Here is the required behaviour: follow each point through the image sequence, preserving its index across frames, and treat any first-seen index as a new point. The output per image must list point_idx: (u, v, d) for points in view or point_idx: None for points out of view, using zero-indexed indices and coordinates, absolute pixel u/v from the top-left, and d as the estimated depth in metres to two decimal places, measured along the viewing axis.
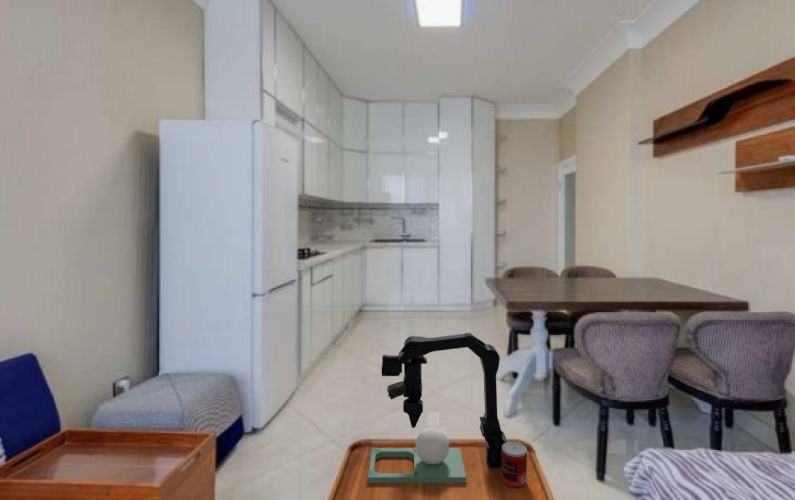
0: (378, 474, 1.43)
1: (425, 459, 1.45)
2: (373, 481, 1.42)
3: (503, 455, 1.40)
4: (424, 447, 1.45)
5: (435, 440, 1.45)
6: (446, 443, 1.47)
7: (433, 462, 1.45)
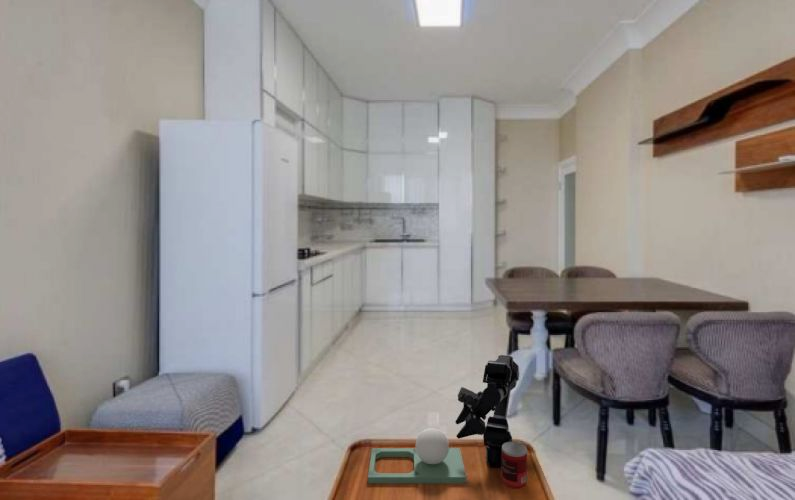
0: (378, 474, 1.43)
1: (425, 459, 1.45)
2: (373, 481, 1.42)
3: (503, 455, 1.40)
4: (424, 447, 1.45)
5: (435, 440, 1.45)
6: (446, 443, 1.47)
7: (433, 462, 1.45)
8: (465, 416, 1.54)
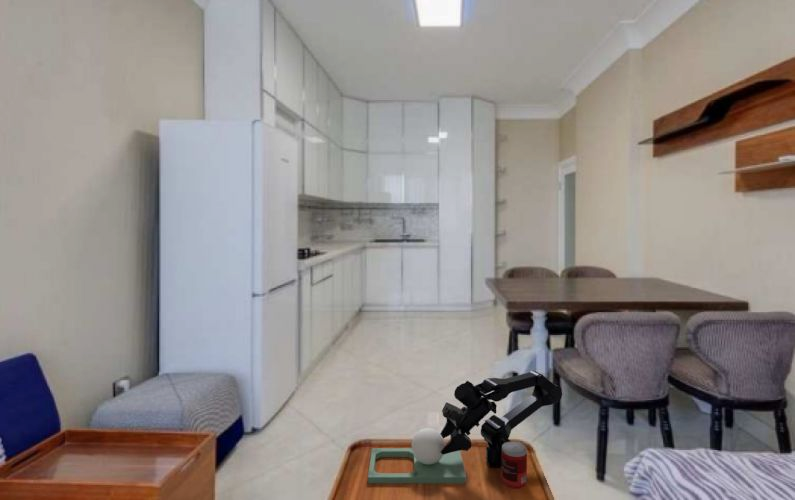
0: (378, 474, 1.43)
1: (423, 461, 1.45)
2: (373, 481, 1.42)
3: (503, 455, 1.40)
4: (419, 449, 1.45)
5: (428, 440, 1.45)
6: (440, 440, 1.47)
7: (431, 462, 1.45)
8: (448, 431, 1.54)
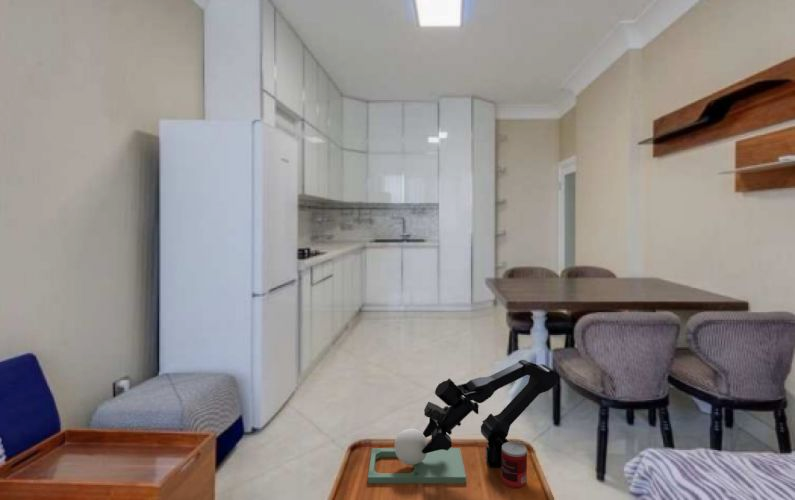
0: (378, 474, 1.43)
1: (415, 462, 1.45)
2: (373, 481, 1.42)
3: (503, 455, 1.40)
4: (403, 459, 1.45)
5: (400, 447, 1.46)
6: (409, 436, 1.47)
7: (420, 456, 1.45)
8: (431, 431, 1.54)
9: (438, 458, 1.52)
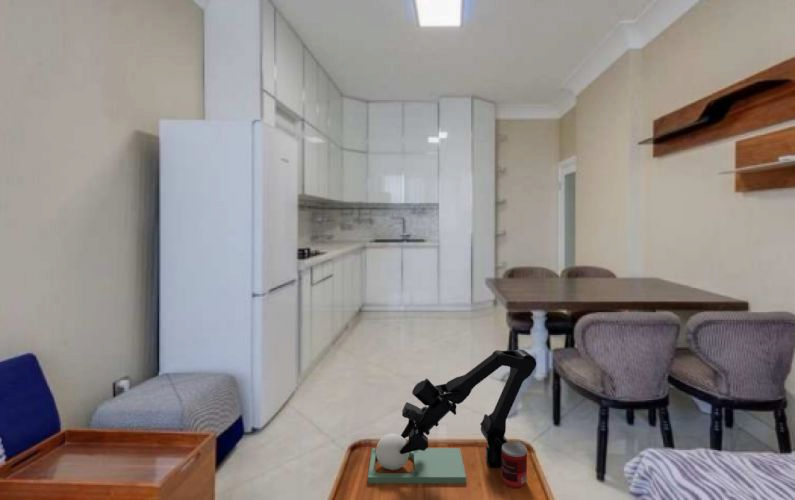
0: (378, 474, 1.43)
1: (402, 457, 1.46)
2: (373, 481, 1.42)
3: (503, 455, 1.40)
4: (395, 467, 1.46)
5: (383, 465, 1.47)
6: (377, 452, 1.48)
7: (398, 450, 1.45)
8: (410, 431, 1.54)
9: (438, 458, 1.52)
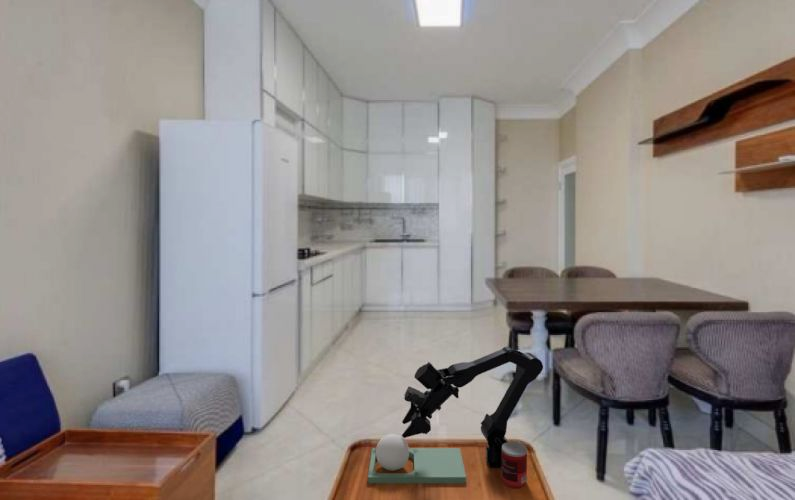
0: (378, 474, 1.43)
1: (402, 458, 1.45)
2: (373, 481, 1.42)
3: (503, 455, 1.40)
4: (395, 468, 1.46)
5: (383, 466, 1.46)
6: (377, 453, 1.47)
7: (397, 452, 1.45)
8: (412, 416, 1.54)
9: (438, 458, 1.52)
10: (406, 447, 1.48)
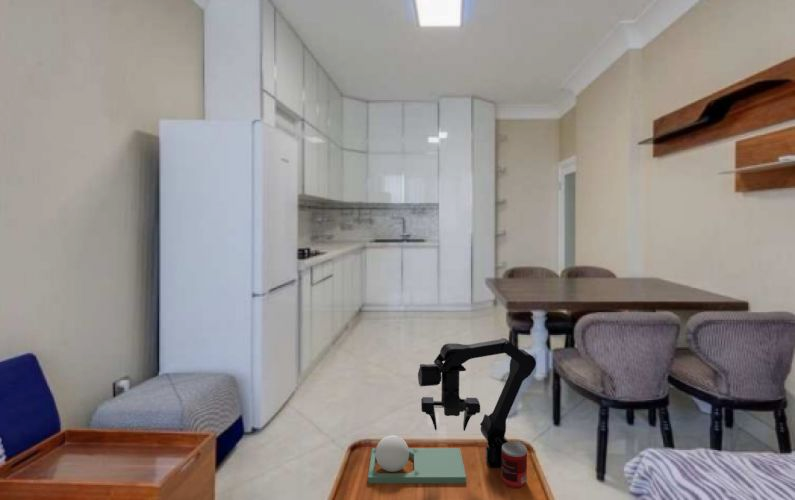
0: (378, 474, 1.43)
1: (402, 461, 1.45)
2: (373, 481, 1.42)
3: (503, 455, 1.40)
4: (395, 471, 1.45)
5: (383, 468, 1.46)
6: (377, 455, 1.47)
7: (397, 456, 1.44)
8: None
9: (438, 458, 1.52)
10: (406, 449, 1.47)
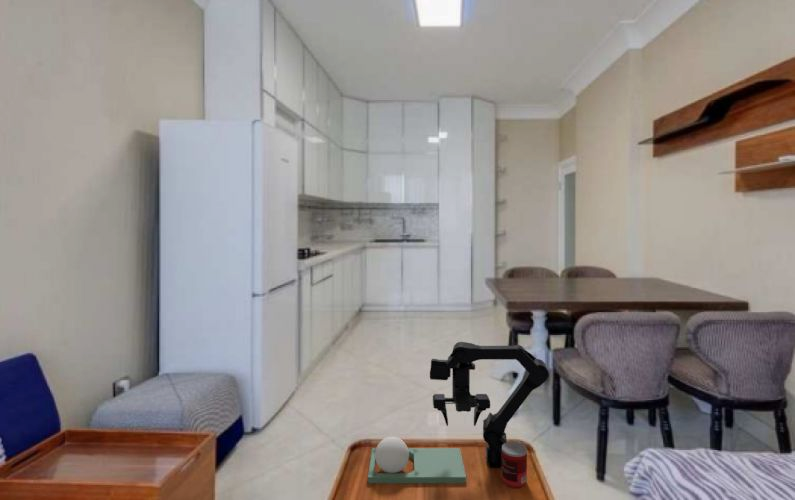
0: (378, 474, 1.43)
1: (402, 465, 1.44)
2: (373, 481, 1.42)
3: (503, 455, 1.40)
4: None
5: None
6: (376, 458, 1.46)
7: (397, 460, 1.43)
8: None
9: (438, 458, 1.52)
10: (406, 452, 1.46)
